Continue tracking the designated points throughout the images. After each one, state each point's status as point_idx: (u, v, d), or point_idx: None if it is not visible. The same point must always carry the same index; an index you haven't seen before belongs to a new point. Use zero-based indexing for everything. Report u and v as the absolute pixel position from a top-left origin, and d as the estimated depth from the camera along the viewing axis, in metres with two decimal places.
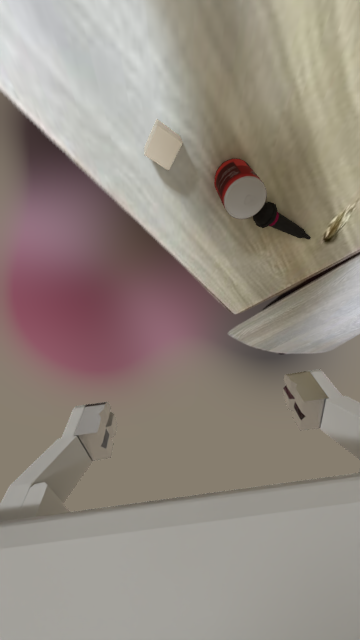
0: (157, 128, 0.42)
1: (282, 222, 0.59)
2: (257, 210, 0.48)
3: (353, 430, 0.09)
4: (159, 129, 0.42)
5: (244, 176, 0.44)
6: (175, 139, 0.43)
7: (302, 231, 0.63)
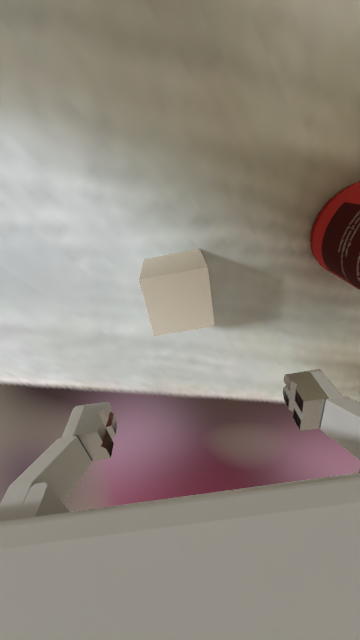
0: (143, 284, 0.18)
1: None
2: None
3: (353, 430, 0.09)
4: (147, 283, 0.18)
5: None
6: (189, 272, 0.18)
7: None
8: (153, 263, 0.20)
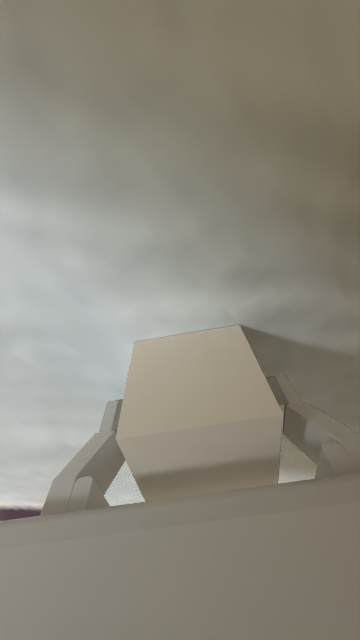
0: (125, 445, 0.08)
1: None
2: None
3: (310, 436, 0.09)
4: (136, 444, 0.08)
5: None
6: (235, 423, 0.07)
7: None
8: (151, 364, 0.10)
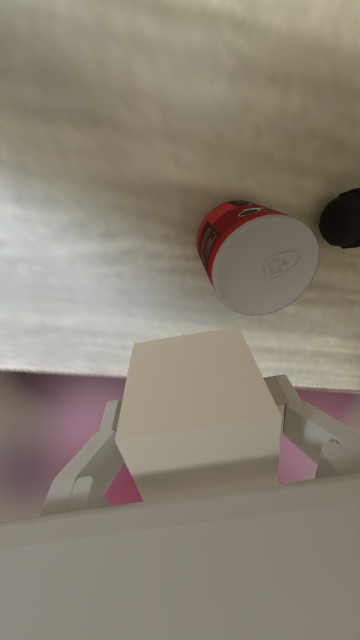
0: (124, 447, 0.08)
1: None
2: (313, 266, 0.18)
3: (310, 436, 0.09)
4: (135, 446, 0.08)
5: (225, 237, 0.18)
6: (234, 425, 0.07)
7: None
8: (150, 366, 0.10)
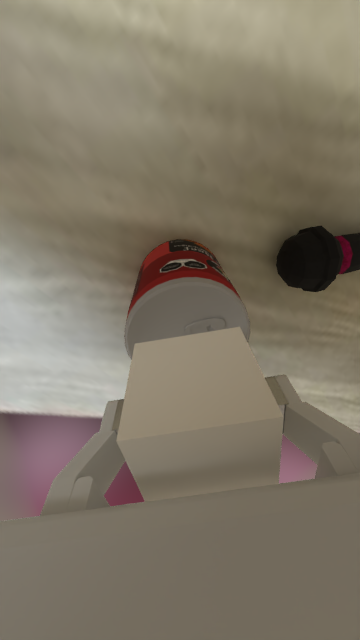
0: (126, 448, 0.08)
1: None
2: (244, 334, 0.15)
3: (310, 436, 0.09)
4: (136, 446, 0.08)
5: (136, 300, 0.15)
6: (236, 426, 0.07)
7: None
8: (152, 366, 0.10)
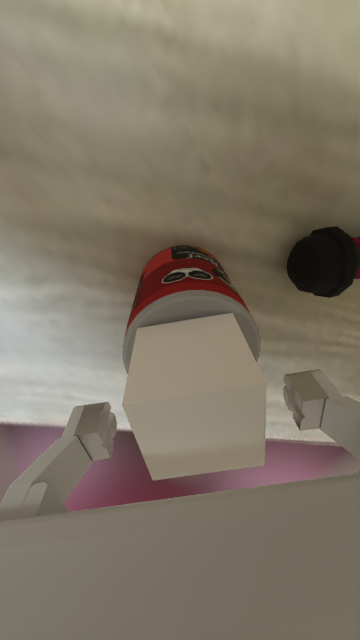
0: (130, 411, 0.09)
1: None
2: (253, 351, 0.14)
3: (353, 430, 0.09)
4: (139, 410, 0.09)
5: (136, 314, 0.13)
6: (225, 392, 0.09)
7: None
8: (152, 346, 0.11)
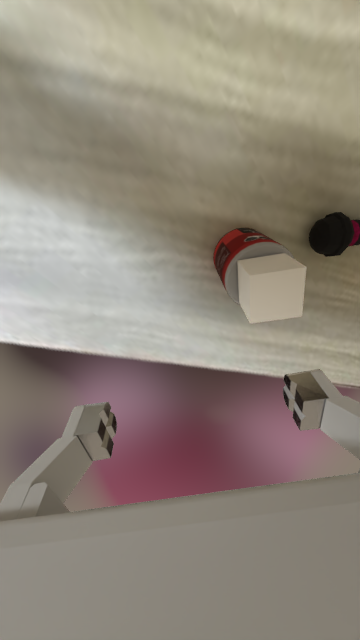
0: (251, 279, 0.22)
1: None
2: None
3: (353, 430, 0.09)
4: (255, 278, 0.22)
5: (235, 255, 0.27)
6: (290, 271, 0.22)
7: None
8: (250, 264, 0.25)
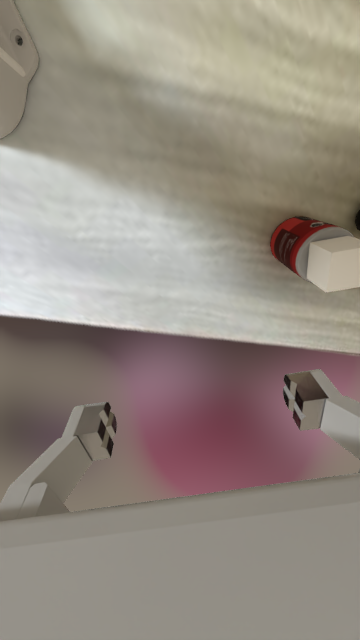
0: (333, 256, 0.28)
1: None
2: None
3: (353, 430, 0.09)
4: (336, 255, 0.28)
5: (306, 238, 0.33)
6: None
7: None
8: (324, 244, 0.31)
